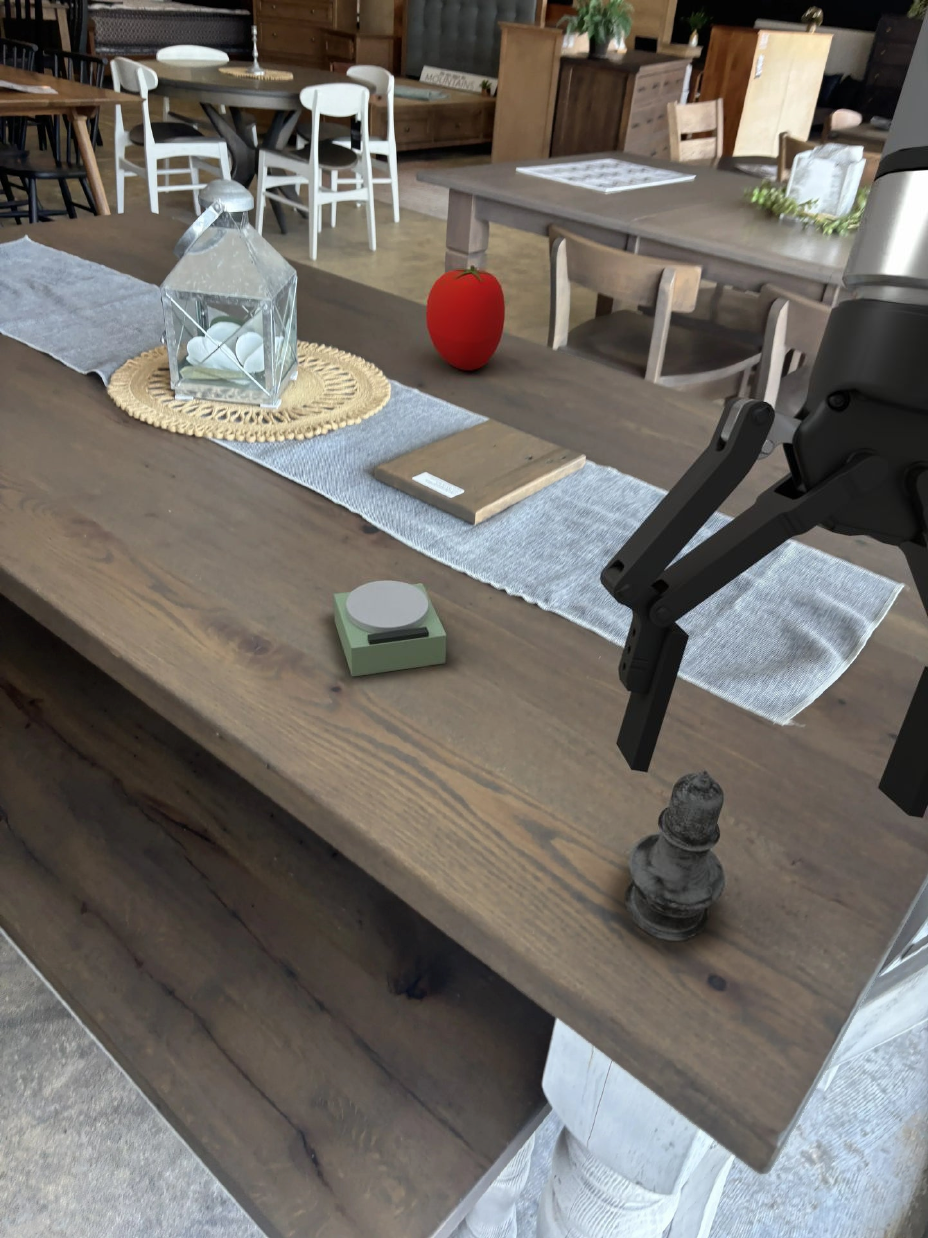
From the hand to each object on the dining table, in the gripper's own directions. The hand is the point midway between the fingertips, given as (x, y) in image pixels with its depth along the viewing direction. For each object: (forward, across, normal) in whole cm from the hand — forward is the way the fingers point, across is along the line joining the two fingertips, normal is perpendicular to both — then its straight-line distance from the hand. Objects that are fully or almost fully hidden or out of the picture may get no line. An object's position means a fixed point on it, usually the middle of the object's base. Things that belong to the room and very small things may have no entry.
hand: (768, 781), depth 42 cm
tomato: (-14, +8, -103) cm, 104 cm away
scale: (+9, +16, -38) cm, 42 cm away
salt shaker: (+15, -3, -12) cm, 19 cm away
